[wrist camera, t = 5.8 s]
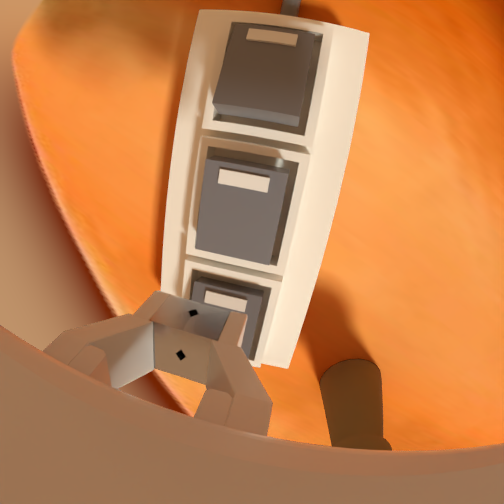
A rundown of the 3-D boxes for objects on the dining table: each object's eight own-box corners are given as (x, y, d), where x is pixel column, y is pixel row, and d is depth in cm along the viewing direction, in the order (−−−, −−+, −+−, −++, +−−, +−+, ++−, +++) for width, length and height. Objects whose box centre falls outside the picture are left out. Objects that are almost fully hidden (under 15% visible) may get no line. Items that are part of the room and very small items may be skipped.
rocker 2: (289, 169, 15) (288, 174, 14) (272, 253, 17) (269, 266, 16) (214, 155, 16) (204, 159, 14) (204, 238, 18) (194, 249, 16)
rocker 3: (264, 290, 19) (262, 297, 17) (248, 359, 19) (245, 371, 18) (201, 276, 19) (193, 281, 17) (190, 344, 20) (182, 354, 18)
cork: (345, 409, 28) (350, 500, 18) (306, 383, 27) (301, 482, 17) (392, 379, 26) (414, 472, 15) (356, 348, 25) (373, 452, 15)
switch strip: (365, -13, 14) (381, -49, 9) (290, 337, 25) (286, 382, 20) (232, -33, 15) (213, -69, 10) (177, 310, 26) (152, 347, 21)
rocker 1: (312, 49, 13) (315, 32, 12) (298, 127, 14) (299, 115, 12) (239, 39, 14) (234, 21, 12) (219, 114, 14) (211, 101, 13)
